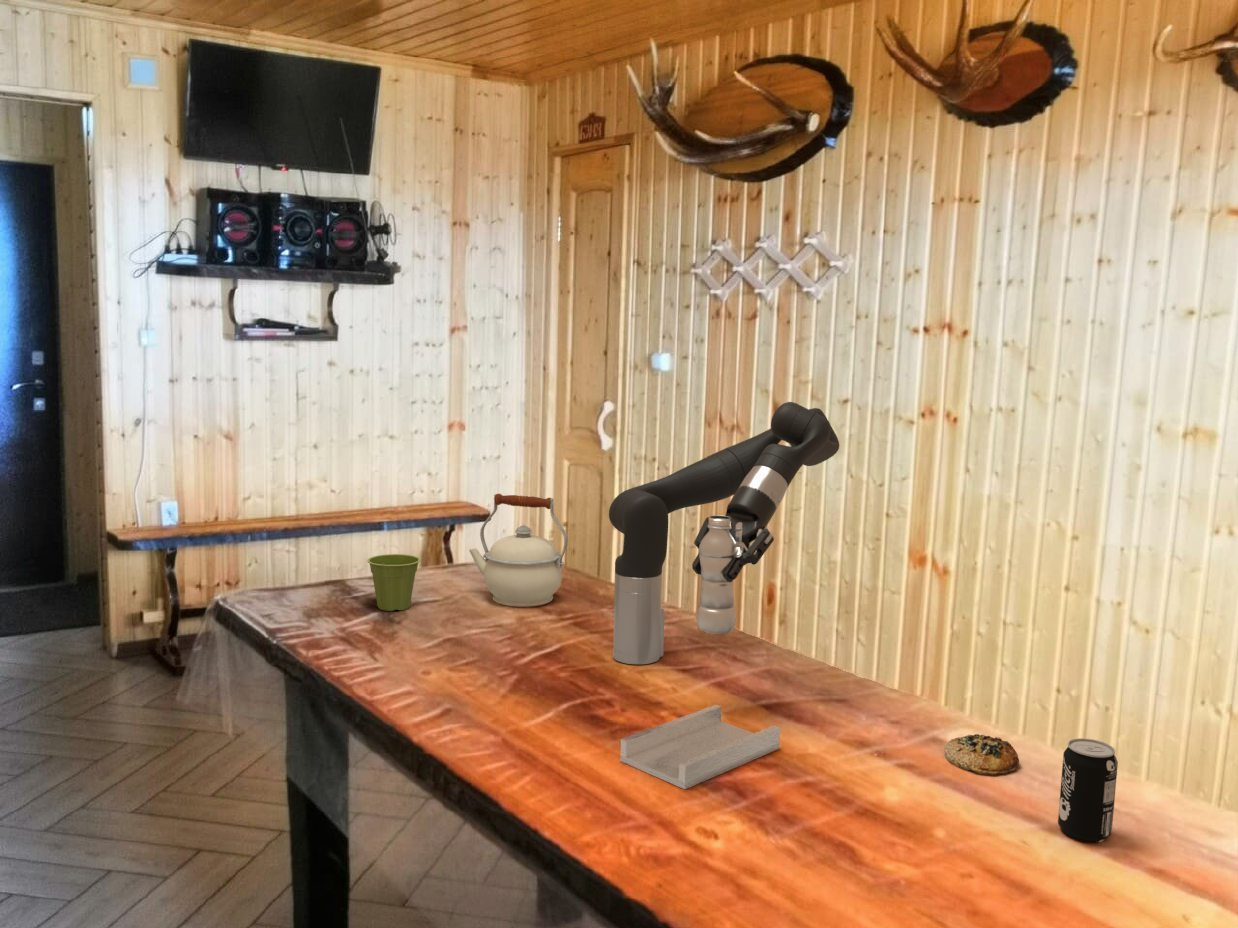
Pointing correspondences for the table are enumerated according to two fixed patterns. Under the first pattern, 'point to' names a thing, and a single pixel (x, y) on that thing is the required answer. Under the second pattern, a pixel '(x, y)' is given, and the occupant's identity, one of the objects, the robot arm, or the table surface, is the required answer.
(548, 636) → the table surface
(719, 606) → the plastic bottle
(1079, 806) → the beverage can
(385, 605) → the plant pot
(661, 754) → the aluminium track
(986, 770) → the bread roll
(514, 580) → the kettle
